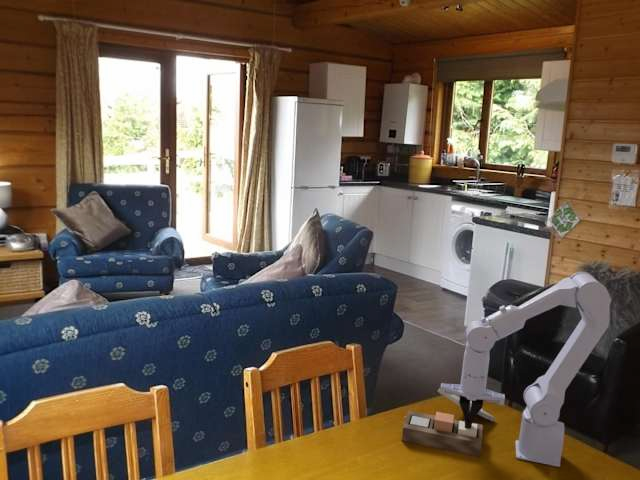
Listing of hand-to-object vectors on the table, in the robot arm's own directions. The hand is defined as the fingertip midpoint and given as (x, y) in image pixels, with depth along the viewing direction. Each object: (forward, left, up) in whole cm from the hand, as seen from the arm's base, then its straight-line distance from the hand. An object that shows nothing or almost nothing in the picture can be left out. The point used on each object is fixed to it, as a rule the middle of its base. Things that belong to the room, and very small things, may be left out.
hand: (467, 426), depth 142 cm
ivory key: (0, 0, -3) cm, 3 cm away
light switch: (+1, -13, -5) cm, 14 cm away
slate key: (+11, 0, -4) cm, 12 cm away
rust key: (+6, 0, -2) cm, 6 cm away
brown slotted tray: (+6, 0, -5) cm, 7 cm away
